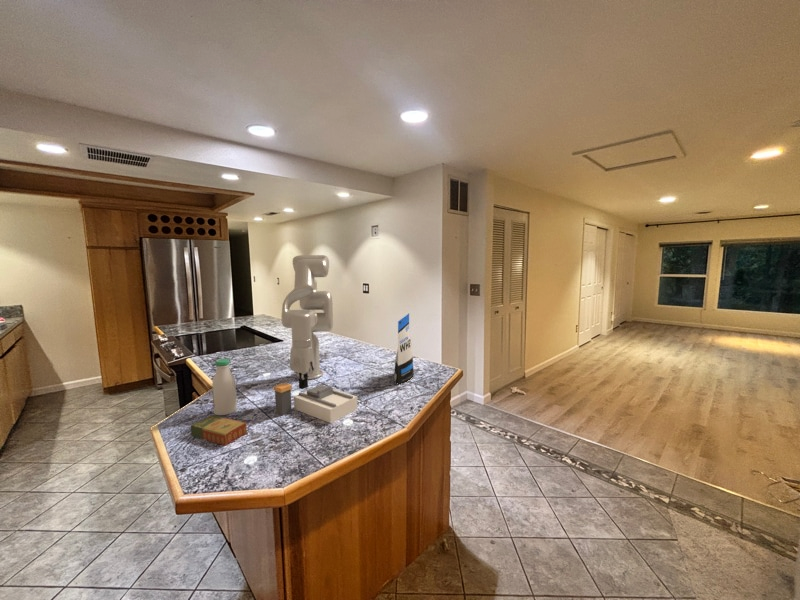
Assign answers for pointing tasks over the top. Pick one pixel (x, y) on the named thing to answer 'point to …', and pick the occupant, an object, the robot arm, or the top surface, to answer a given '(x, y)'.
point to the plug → (283, 398)
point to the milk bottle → (224, 389)
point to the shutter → (320, 391)
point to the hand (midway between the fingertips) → (303, 387)
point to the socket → (326, 405)
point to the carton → (219, 429)
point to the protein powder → (403, 353)
